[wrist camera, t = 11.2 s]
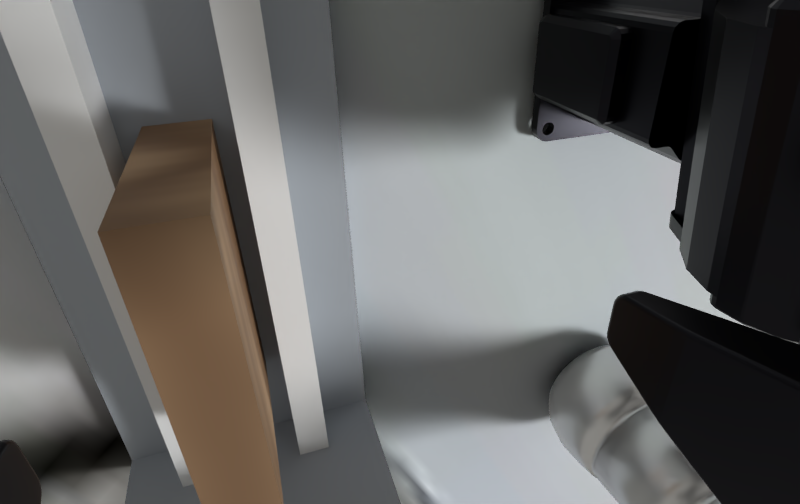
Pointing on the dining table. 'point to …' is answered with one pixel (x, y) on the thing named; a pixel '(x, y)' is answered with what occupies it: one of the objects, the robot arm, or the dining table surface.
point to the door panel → (194, 310)
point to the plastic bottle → (620, 434)
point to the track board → (249, 196)
